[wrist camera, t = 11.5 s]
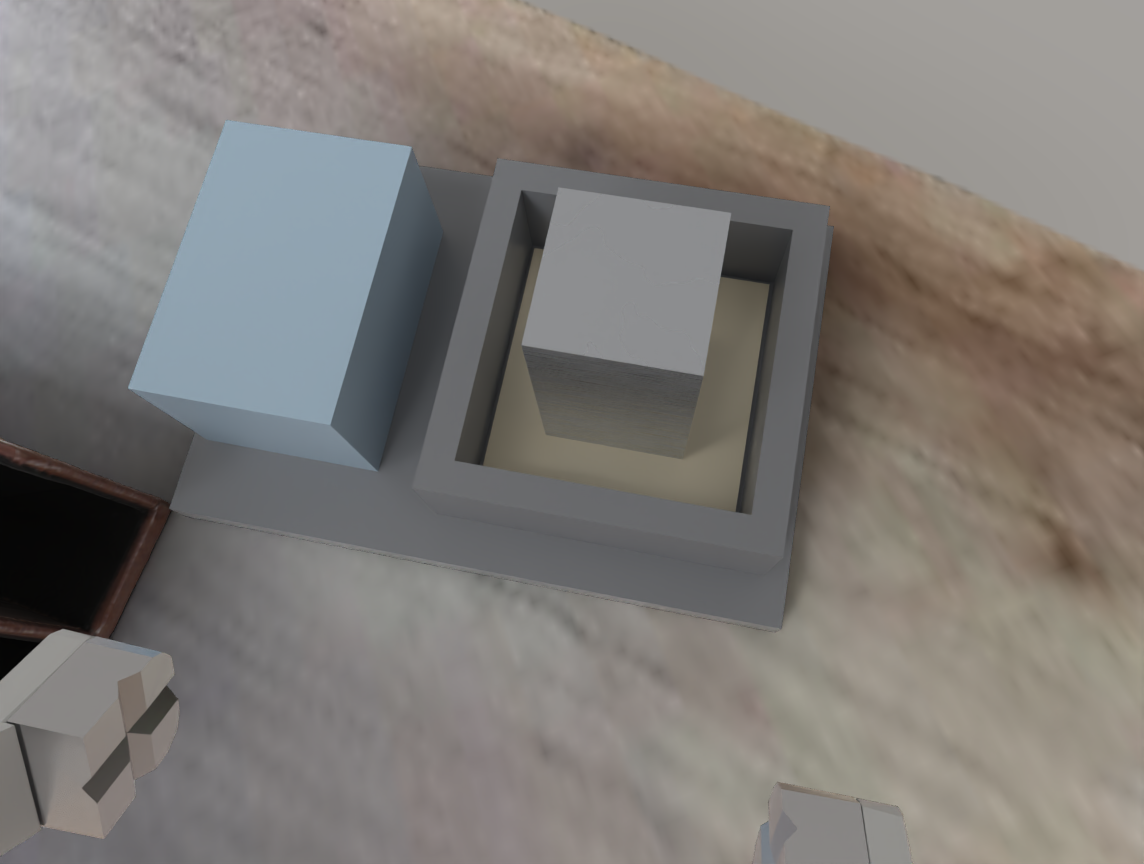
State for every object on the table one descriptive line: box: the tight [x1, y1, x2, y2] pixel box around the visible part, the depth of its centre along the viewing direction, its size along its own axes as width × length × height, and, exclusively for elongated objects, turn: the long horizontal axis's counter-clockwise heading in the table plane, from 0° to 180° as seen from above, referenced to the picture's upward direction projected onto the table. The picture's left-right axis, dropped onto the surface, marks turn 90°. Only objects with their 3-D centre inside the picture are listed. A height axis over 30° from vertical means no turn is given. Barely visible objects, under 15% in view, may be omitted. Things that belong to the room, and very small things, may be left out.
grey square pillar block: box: [521, 187, 731, 459], centre depth 26 cm, size 4×4×8 cm
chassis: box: [128, 120, 834, 632], centre depth 28 cm, size 20×14×6 cm
